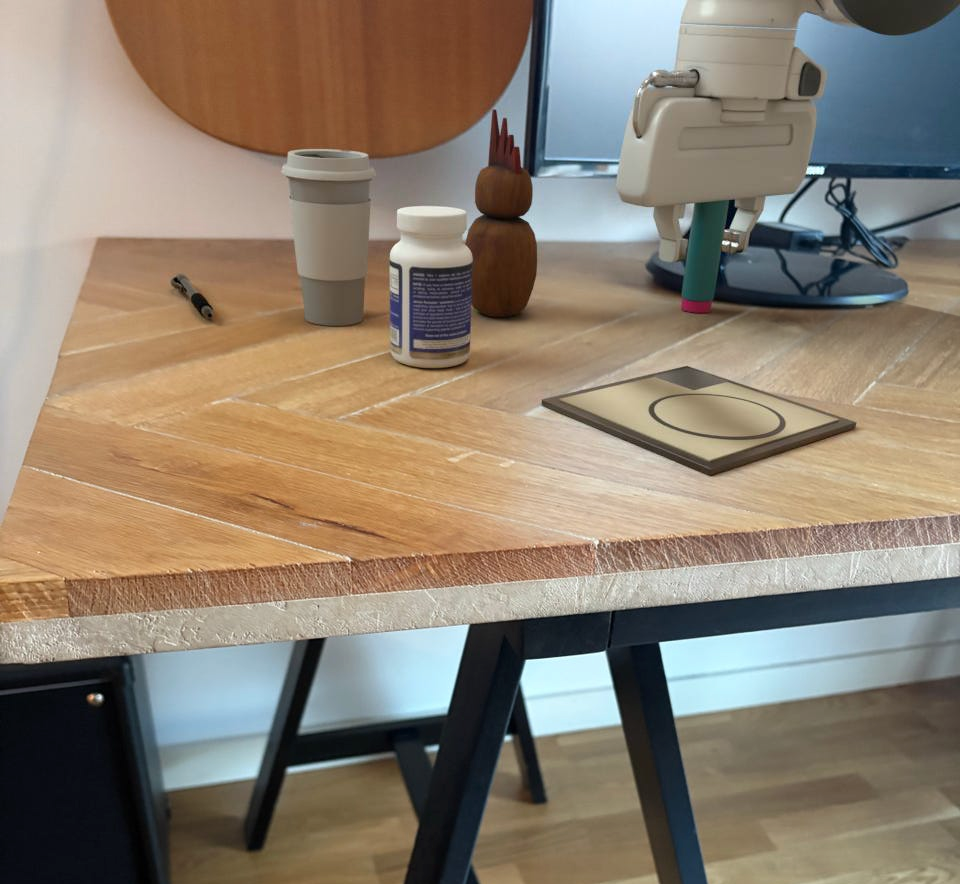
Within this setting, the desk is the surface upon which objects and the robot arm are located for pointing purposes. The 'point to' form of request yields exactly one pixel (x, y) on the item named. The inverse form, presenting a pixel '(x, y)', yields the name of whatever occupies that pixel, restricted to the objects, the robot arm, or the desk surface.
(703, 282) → the dot marker
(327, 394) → the desk surface
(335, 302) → the cup
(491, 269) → the wooden figurine
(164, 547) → the desk surface
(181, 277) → the pen
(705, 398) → the board
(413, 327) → the pill bottle
